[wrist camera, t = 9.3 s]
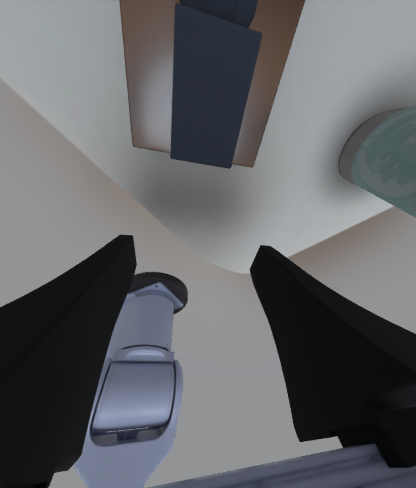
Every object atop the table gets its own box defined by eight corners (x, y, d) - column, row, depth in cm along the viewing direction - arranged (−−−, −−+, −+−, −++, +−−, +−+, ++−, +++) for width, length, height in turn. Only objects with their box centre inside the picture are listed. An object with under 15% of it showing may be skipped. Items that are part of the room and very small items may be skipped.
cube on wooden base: (217, 156, 12) (232, 171, 8) (174, 148, 11) (167, 160, 8) (247, -3, 8) (304, -121, 4) (181, -29, 7) (175, -197, 3)
